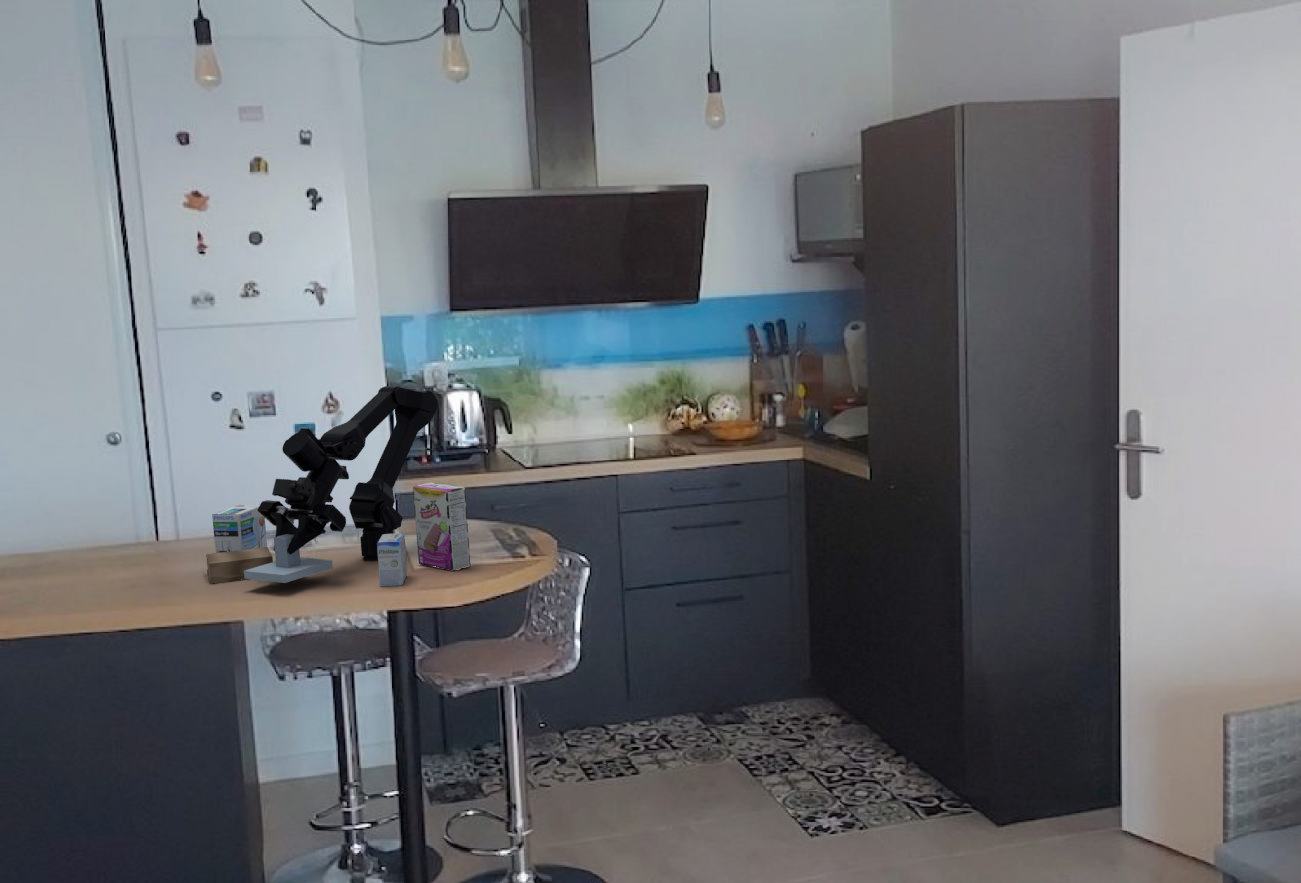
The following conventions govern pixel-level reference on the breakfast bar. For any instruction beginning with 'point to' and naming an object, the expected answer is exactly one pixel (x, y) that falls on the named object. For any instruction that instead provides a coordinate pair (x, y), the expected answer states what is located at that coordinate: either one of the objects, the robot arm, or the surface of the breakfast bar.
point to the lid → (287, 564)
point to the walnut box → (235, 563)
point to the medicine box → (392, 559)
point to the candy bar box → (441, 525)
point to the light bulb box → (239, 529)
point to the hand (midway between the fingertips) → (282, 552)
